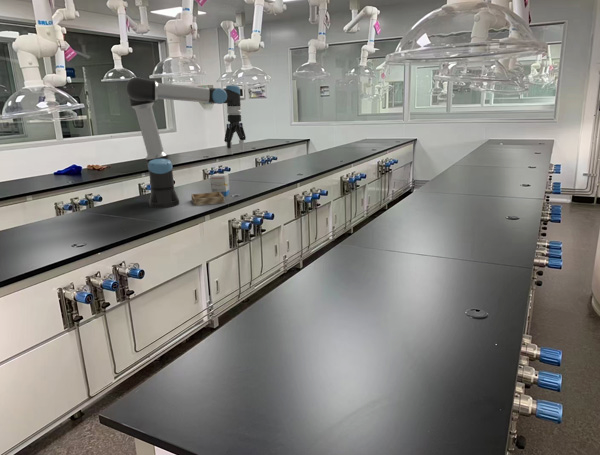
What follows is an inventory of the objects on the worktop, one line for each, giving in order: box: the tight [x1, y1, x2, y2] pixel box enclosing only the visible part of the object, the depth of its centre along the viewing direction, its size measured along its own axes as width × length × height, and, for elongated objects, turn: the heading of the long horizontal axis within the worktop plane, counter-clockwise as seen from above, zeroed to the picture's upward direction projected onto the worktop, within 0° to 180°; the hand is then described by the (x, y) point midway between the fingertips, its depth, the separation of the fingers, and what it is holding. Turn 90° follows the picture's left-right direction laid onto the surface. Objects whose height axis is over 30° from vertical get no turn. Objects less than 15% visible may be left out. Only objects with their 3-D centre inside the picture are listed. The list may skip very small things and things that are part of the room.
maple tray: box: [191, 192, 225, 206], centre depth 241 cm, size 16×14×3 cm
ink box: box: [209, 173, 231, 197], centre depth 256 cm, size 9×8×12 cm
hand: (236, 152), depth 255 cm, fingers open, 13 cm apart
